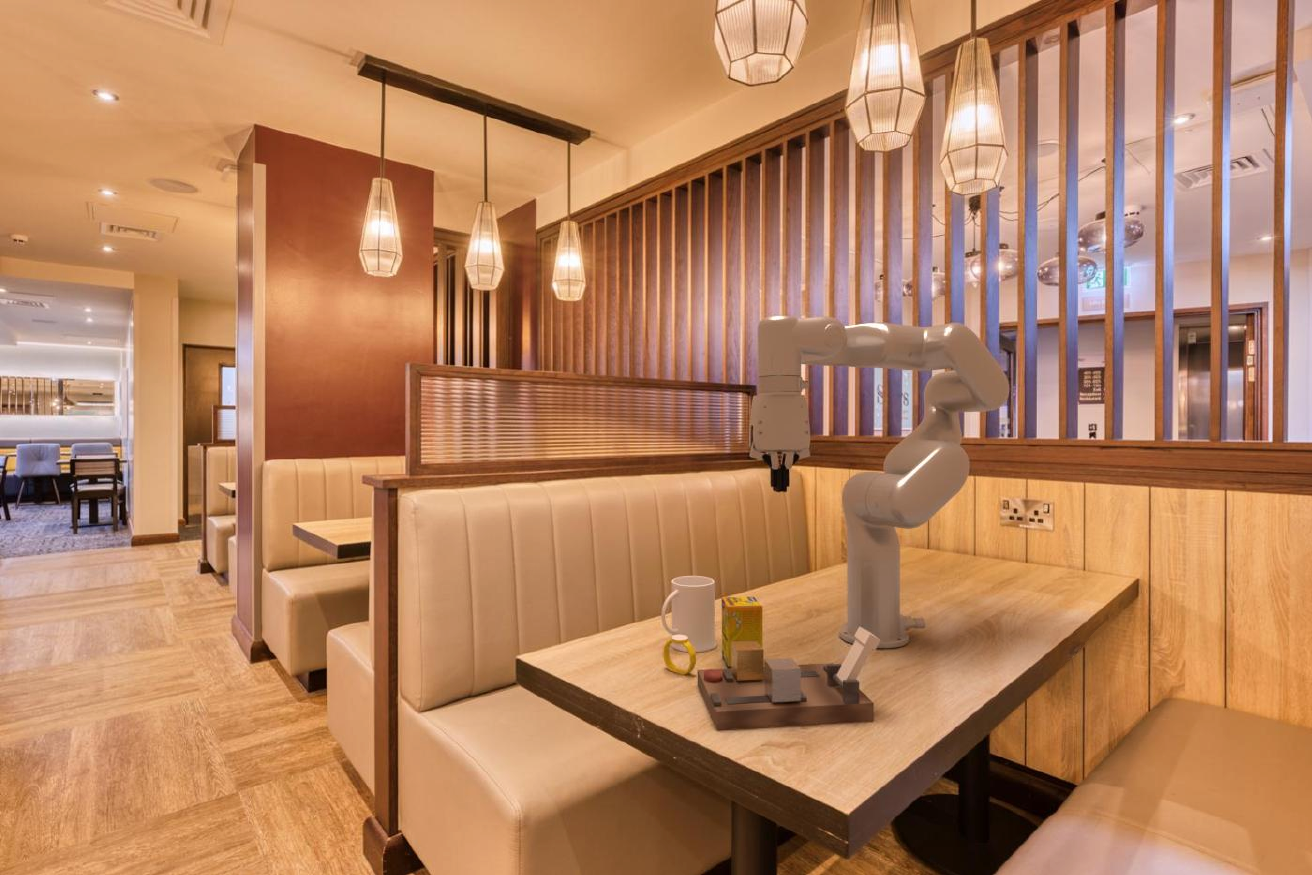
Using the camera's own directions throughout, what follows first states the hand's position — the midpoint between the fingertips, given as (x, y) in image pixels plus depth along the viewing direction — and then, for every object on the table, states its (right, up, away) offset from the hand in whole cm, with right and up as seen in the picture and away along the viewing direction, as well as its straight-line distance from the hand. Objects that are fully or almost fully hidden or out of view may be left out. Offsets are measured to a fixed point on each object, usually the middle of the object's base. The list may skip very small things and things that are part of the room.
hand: (780, 491), depth 116 cm
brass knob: (-8, -27, -16) cm, 32 cm away
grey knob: (-4, -27, -24) cm, 36 cm away
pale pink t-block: (+5, -26, -23) cm, 34 cm away
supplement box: (-7, -30, -4) cm, 31 cm away
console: (-4, -30, -19) cm, 35 cm away
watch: (-18, -30, -7) cm, 35 cm away
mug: (-16, -29, +5) cm, 34 cm away
